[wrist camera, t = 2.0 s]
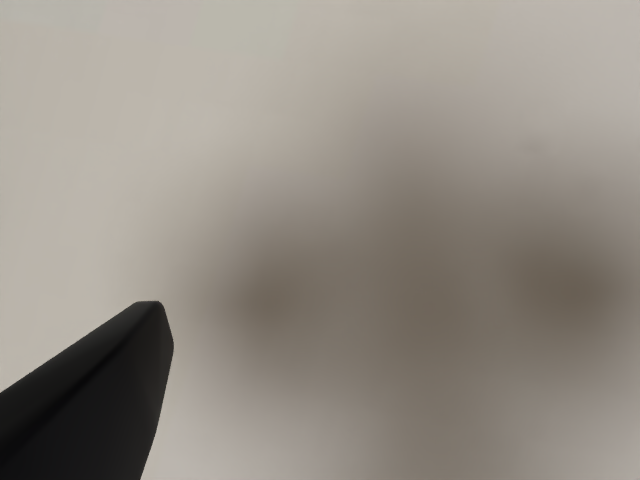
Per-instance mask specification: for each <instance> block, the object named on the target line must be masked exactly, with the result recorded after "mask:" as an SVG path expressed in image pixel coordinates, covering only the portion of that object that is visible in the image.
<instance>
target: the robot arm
mask: <svg viewBox="0 0 640 480" xmlns="http://www.w3.org/2000/svg"><path fill="white" fill-rule="evenodd" d="M173 351H174V342H173V337H172V333H171V330H170V326H169V323H168V319H167V316H166V312H165V309H164V306H163V305H162V303H160V302H159V301H141V302H135V303H134V304H132V305H131V306H129V307H128V308H126V309H125V310H123V311H122V312H120V313H119V314H117V315H116V316H114V317H113V318H111V319H110V320H108V321H107V322H105V323H104V324H102V325H101V326H99V327H98V328H96V329H95V330H93V331H92V332H90V333H89V334H87V335H86V336H84V337H83V338H81V339H80V340H78V341H77V342H75V343H74V344H72V345H71V346H70V347H68V348H67V349H65V350H64V351H62V352H61V353H59V354H58V355H56V356H55V357H53V358H52V359H50V360H49V361H47V362H46V363H44V364H43V365H41V366H40V367H38V368H37V369H35V370H34V371H32V372H31V373H29V374H28V375H26V376H25V377H23V378H22V379H20V380H19V381H17V382H16V383H14V384H13V385H11V386H10V387H8V388H7V389H5V390H4V391H2V392H1V393H0V480H140V479H141V476H142V473H143V470H144V467H145V464H146V461H147V458H148V455H149V452H150V449H151V446H152V443H153V440H154V437H155V433H156V430H157V426H158V422H159V417H160V413H161V408H162V403H163V399H164V394H165V389H166V385H167V380H168V375H169V371H170V366H171V361H172V357H173Z"/></svg>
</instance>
